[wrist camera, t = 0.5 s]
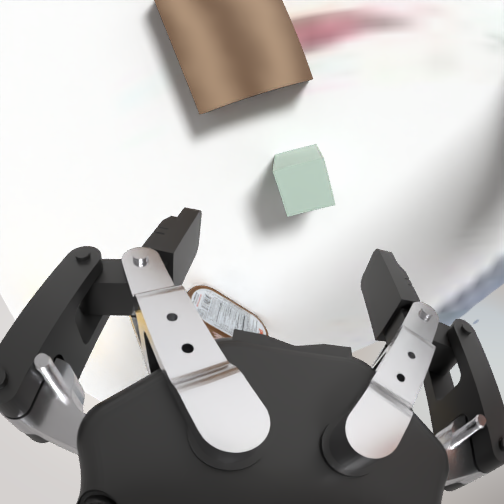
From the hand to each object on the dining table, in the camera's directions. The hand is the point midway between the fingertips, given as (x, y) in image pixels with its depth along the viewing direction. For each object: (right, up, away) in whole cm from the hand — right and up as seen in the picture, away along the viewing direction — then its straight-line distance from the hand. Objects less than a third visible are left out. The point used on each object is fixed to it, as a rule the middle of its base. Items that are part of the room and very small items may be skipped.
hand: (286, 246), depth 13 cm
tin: (-5, -9, +33) cm, 35 cm away
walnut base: (-4, +25, +12) cm, 28 cm away
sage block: (+4, +10, +20) cm, 23 cm away
